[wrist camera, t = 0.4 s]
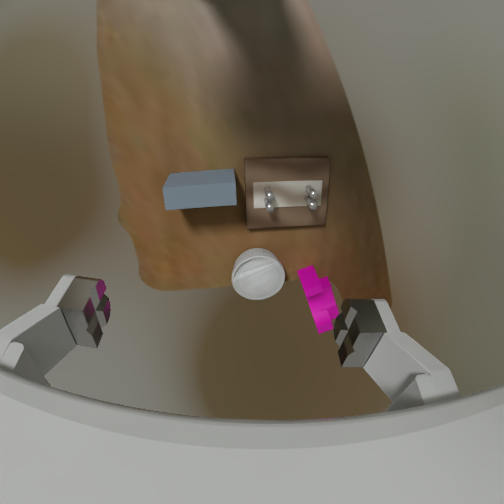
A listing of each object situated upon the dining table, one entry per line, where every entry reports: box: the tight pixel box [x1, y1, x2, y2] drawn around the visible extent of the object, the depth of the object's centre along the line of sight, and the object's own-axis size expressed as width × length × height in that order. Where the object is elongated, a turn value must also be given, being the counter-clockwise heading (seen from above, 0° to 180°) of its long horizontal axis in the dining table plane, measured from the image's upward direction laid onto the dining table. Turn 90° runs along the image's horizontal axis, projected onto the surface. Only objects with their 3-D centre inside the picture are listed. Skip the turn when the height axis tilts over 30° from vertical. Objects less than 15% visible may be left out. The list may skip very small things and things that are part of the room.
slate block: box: [163, 169, 237, 210], centre depth 52 cm, size 4×12×8 cm, turn 92°
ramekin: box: [232, 248, 285, 300], centre depth 65 cm, size 11×11×5 cm
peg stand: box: [244, 156, 330, 229], centre depth 56 cm, size 14×16×6 cm
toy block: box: [297, 265, 339, 334], centre depth 69 cm, size 15×6×8 cm, turn 21°
